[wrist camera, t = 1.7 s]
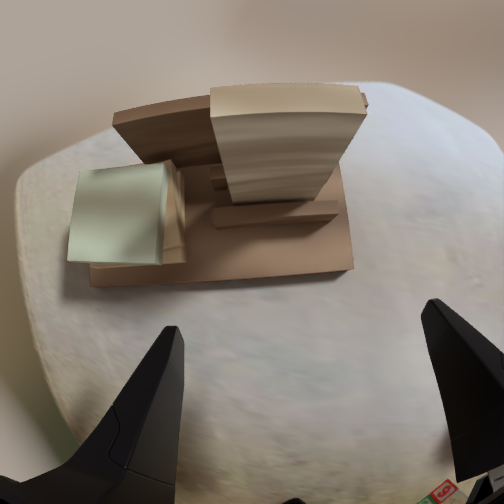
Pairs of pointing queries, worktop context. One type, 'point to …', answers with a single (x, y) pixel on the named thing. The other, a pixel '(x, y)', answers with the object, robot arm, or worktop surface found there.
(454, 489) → the stack of blocks
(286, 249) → the offcut rack
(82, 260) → the offcut stack
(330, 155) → the birch board
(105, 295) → the worktop surface
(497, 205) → the worktop surface
